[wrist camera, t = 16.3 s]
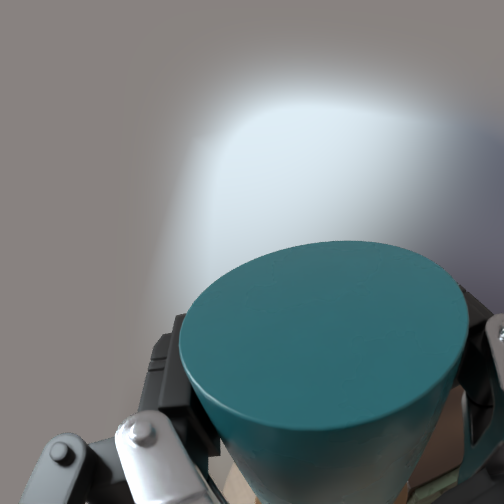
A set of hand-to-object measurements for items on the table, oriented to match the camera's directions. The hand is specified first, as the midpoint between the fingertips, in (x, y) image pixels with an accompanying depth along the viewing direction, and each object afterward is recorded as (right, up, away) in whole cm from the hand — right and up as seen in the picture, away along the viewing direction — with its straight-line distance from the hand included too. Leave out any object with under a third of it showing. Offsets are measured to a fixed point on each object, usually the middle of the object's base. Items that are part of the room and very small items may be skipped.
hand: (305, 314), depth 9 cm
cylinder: (+2, -10, +2) cm, 10 cm away
